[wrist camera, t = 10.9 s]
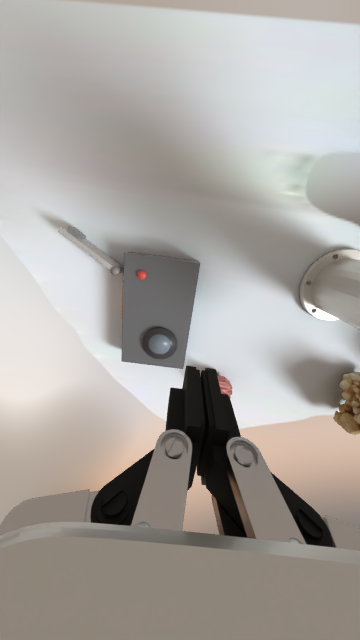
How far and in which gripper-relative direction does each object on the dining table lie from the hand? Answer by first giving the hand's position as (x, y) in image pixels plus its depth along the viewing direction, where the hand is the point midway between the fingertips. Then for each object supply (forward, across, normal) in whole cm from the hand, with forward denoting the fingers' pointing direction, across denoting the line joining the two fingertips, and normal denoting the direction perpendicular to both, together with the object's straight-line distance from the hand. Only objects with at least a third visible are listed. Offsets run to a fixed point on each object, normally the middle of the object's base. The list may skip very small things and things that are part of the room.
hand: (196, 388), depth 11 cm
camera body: (+27, +5, +5) cm, 28 cm away
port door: (+27, +16, -5) cm, 32 cm away
